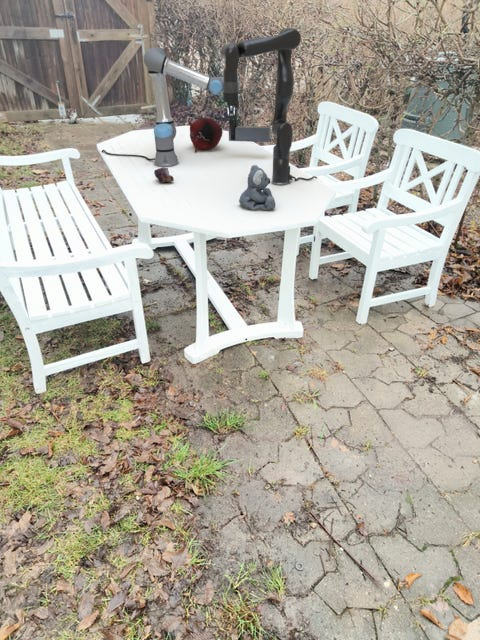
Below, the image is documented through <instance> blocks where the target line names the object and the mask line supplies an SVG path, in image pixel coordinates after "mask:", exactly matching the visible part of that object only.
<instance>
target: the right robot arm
mask: <svg viewBox="0 0 480 640" xmlns="http://www.w3.org/2000/svg"><path fill="white" fill-rule="evenodd" d="M301 40H302V35H301V32H300V31H299V30H298V29H296V28H294V27H284V28H282V29H280V31H279V33H278V34H277V35H272V36H264V37H256V38H251V39H247V40H243V41H238V42H232V43H226V44H224V45H223V46H222V47H221V49H220V55H221V57H222V59H223V60H224V61H225V66H224V69H223V72H222V73H223V74H222V75H223V76H222V77H223V90H222V96H223V97H222V98H223V99H222V101H223V103H227V102H228V105H226V110H227V116H228V125H229V126H228V128H229V127H230V128H233V127H234V115H235V105H233V103H234V102H238V101H239V100H238V77H239V73H238V69H239V63H240V59H242V58H245V59H246V58H252V57H256V56H259V55H263V54H266V53H271V52H275V51H276V52H277V66H276V67H277V69H276V80H275V97H274V111H273V118H272V124H271V134H272V135H273V136H274V137H275V138H276V142H275V143H276V144H275V145H274V146H273V148H272V175H271V183H272V184H273V185H277V186H285V185H288V184H290V182H291V181H293V179H294V181H298V180H303V181H311V180H312V179H317V180H318V177H317V176H316V175H315V176H314V175H313V176H312V177H310V178H306V177H297V178H296V177H295V176H293V175H292V174H291V166H290V153H291V148H292V144H293V136H294V135H293V134H294V133H293V132H294V129H293V125H292V124H291V123H290V122H287V114H288V108H289V106H290V103H291V101H292V98H293V94H294V89H295V88H294V87H295V86H294V85H295V76H294V70H293V66H292V54H293V53H292V52H293V50H295V49H297V48H298V47H299V46H300V44H301V42H302V41H301ZM313 242H316V235H314V236H313Z"/></svg>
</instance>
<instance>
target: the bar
mask: <svg viewBox="0 0 480 640" xmlns="http://www.w3.org/2000/svg"><path fill="white" fill-rule="evenodd" d="M234 128H235V140H231V130H229V129H230V127H229V126H228V141H229V142H249V143H250V142H251V143H252V142H253V143H254V142H256V143H270V142H271V134H272V126H257V125H255V126H253V125H251V126H250V125H237V126H234Z"/></svg>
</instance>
